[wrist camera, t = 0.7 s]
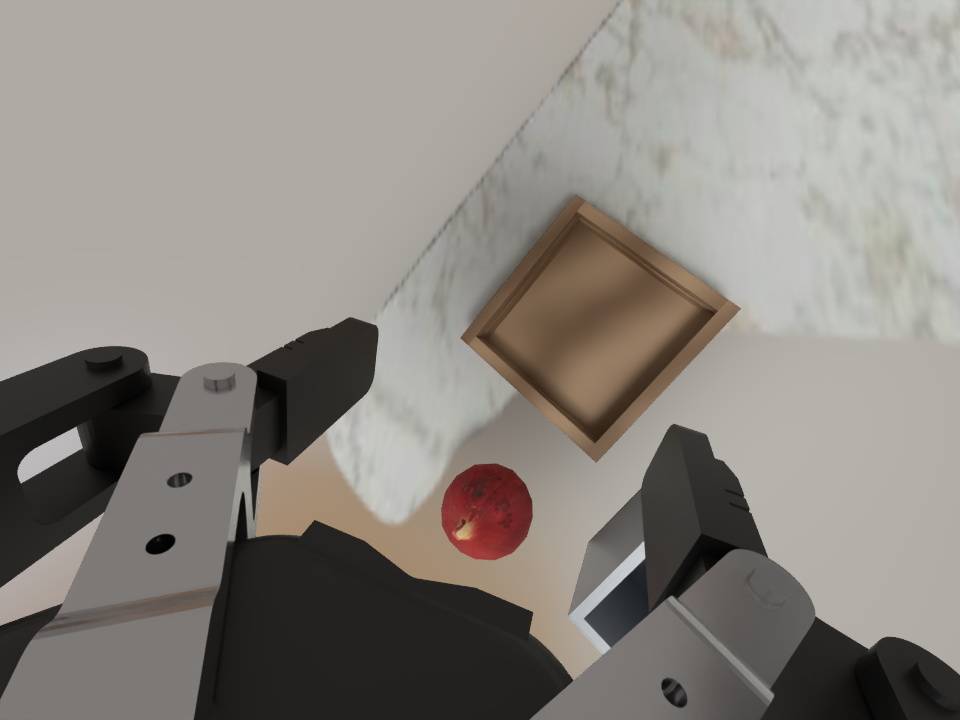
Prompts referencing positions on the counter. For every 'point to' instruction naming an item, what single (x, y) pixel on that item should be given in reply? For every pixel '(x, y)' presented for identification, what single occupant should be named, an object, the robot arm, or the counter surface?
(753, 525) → the robot arm
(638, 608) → the gray square holder
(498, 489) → the onion
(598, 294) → the tray
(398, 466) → the counter surface
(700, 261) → the counter surface
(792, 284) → the counter surface
